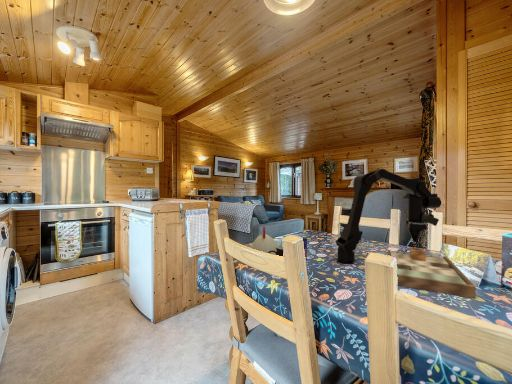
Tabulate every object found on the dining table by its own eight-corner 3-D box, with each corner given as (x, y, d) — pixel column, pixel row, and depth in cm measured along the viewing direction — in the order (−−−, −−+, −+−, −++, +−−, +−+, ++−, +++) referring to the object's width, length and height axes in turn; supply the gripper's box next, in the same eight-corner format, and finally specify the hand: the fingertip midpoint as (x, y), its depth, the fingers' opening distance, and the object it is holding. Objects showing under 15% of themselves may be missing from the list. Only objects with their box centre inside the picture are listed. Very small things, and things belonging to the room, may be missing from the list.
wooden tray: (390, 284, 80) (390, 274, 80) (387, 257, 111) (387, 250, 111) (475, 298, 70) (475, 286, 69) (446, 264, 100) (446, 256, 100)
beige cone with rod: (277, 255, 115) (277, 225, 115) (280, 264, 101) (280, 230, 101) (249, 255, 115) (249, 225, 115) (248, 264, 102) (248, 230, 101)
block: (411, 259, 99) (411, 250, 99) (409, 256, 104) (409, 247, 104) (425, 261, 97) (425, 251, 97) (423, 258, 101) (423, 248, 101)
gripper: (442, 210, 95) (441, 248, 95) (432, 207, 111) (432, 239, 112) (409, 209, 100) (409, 245, 100) (405, 206, 117) (405, 237, 117)
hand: (414, 242), depth 107 cm, fingers closed
